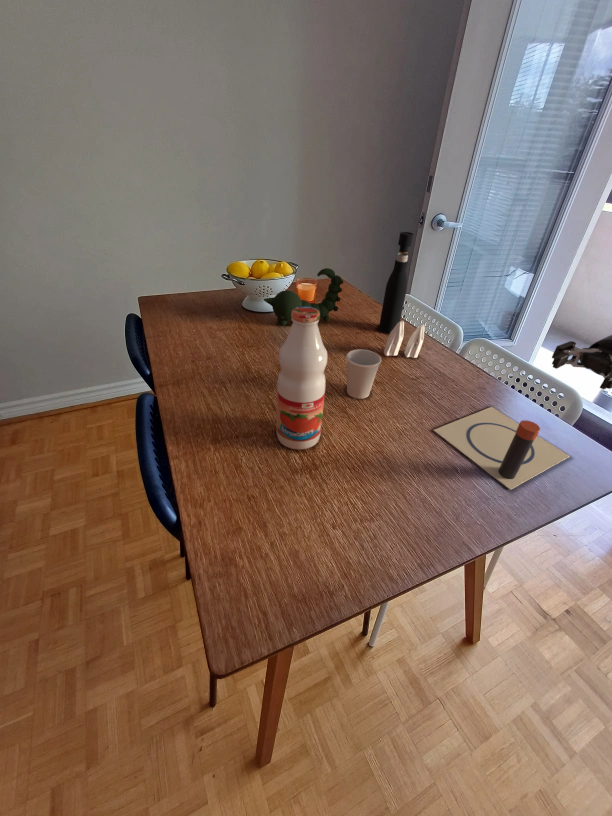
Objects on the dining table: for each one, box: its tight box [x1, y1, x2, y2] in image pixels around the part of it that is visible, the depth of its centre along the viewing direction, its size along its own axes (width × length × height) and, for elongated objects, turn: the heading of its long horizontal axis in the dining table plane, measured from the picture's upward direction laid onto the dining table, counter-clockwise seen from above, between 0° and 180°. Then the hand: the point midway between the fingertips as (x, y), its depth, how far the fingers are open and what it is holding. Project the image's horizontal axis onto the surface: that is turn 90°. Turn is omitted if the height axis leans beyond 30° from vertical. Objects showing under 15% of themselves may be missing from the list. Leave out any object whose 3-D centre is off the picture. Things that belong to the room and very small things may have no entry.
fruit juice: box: [275, 306, 329, 450], centre depth 76 cm, size 9×9×28 cm
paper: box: [432, 406, 570, 491], centre depth 86 cm, size 20×20×1 cm
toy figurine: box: [263, 267, 344, 327], centre depth 127 cm, size 9×19×25 cm
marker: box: [498, 420, 541, 479], centre depth 75 cm, size 3×3×12 cm
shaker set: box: [383, 320, 425, 359], centre depth 114 cm, size 12×4×11 cm, turn 103°
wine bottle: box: [378, 231, 414, 335], centre depth 123 cm, size 6×6×30 cm
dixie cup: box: [345, 348, 382, 400], centre depth 97 cm, size 8×8×10 cm
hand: (579, 373), depth 72 cm, fingers open, 8 cm apart
